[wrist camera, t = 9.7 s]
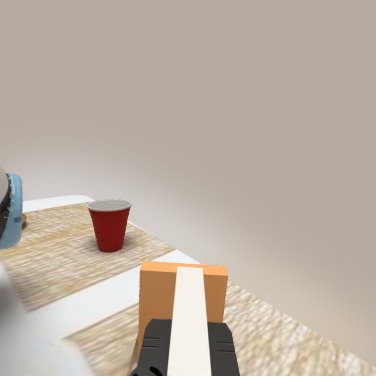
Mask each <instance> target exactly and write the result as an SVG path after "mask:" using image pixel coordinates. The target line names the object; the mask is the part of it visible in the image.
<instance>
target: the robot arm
mask: <svg viewBox="0 0 376 376" xmlns="http://www.w3.org/2000/svg"><path fill="white" fill-rule="evenodd" d="M21 233H22V181H21V178H20V177H19V176H18V175H15V174H13V175H12V174H10V173H5V171H4V169H3V168H2V167H1V166H0V250H2V249H7V248H11V247H14V246H15V245H17V244H18V243H19V241H20V239H21ZM129 376H240V373H239V368H238V363H237V358H236V353H235V348H234V344H233V337H232V332H231V331H230V329H229V328H228V326H227V325H226V323H217V322H207V316H206V303H205V291H204V279H203V268H193V267H179V266H177V276H176V287H175V298H174V308H173V319H172V320H164V319H151V321H150V322H149V323H148V325H147V326H146V328H145V332H144V337H143V341H142V346H141V350H140V355H139V359H138V364H137V367H136V368H135V369H134V370H133V371H132V372H131V373H130V375H129Z"/></svg>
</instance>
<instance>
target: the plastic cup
mask: <svg viewBox="0 0 376 376" xmlns="http://www.w3.org/2000/svg"><path fill="white" fill-rule="evenodd" d="M131 206H132V202H131V201H128V200H121V199H107V200H98V201H94V202H90V203H88V204H87V208H88V210H89V212H90V214H91V218H92V222H93V226H94V231H95V236H96V238H97V243H98V247H99V249H100V250H101V251H103V252H115V251H118V250H119V249H121V247H122V245H123V240H124V235H125V231H126V225H127V219H128V215H129V211H130V207H131Z"/></svg>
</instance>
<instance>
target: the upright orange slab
mask: <svg viewBox="0 0 376 376" xmlns="http://www.w3.org/2000/svg"><path fill="white" fill-rule="evenodd" d="M177 266H179V267H193V268H203V279H204V291H205V303H206V316H207V322H217V323H222V322H223V314H224V305H225V296H226V288H227V279H228V274H227V270H226V267H225V266H214V265H199V264H183V263H167V262H152V261H143V263H142V266H141V269H140V292H139V339H138V359H139V355H140V350H141V346H142V341H143V337H144V332H145V328H146V326H147V325H148V323H149V322H150V321H151V319H173V308H174V298H175V287H176V276H177Z"/></svg>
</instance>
